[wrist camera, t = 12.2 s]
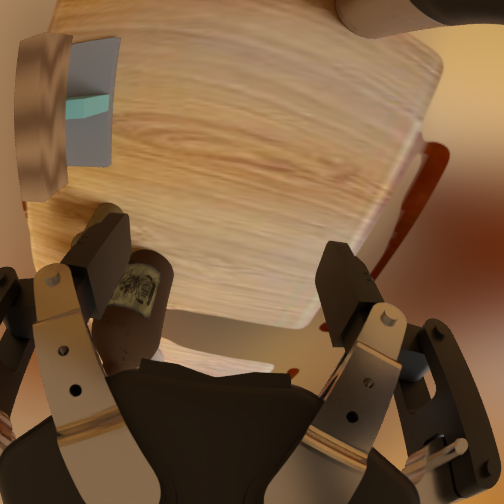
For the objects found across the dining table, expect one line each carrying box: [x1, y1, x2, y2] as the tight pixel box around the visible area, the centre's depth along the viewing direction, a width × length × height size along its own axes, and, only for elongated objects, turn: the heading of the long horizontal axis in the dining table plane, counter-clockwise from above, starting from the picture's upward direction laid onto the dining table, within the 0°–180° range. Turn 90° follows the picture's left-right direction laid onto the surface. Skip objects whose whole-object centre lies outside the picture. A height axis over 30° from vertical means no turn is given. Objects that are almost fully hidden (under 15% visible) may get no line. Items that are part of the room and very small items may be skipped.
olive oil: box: [92, 250, 174, 376], centre depth 39 cm, size 11×11×25 cm
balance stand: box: [65, 37, 121, 167], centre depth 28 cm, size 20×10×8 cm, turn 170°
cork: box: [71, 203, 123, 248], centre depth 38 cm, size 6×6×11 cm
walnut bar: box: [14, 33, 73, 203], centre depth 22 cm, size 20×4×6 cm, turn 170°
